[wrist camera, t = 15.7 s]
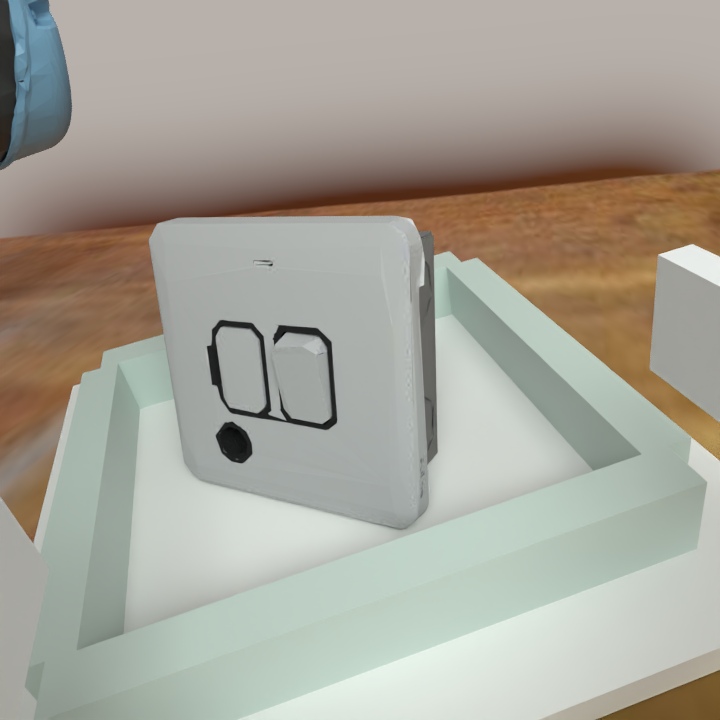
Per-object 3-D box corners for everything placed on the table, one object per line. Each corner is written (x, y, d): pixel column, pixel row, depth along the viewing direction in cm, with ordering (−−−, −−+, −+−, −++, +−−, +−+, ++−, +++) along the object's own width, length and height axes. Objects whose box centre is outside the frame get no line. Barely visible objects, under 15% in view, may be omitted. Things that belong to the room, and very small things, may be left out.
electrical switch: (186, 483, 23) (103, 241, 19) (265, 408, 27) (212, 194, 23) (421, 544, 19) (383, 247, 14) (475, 445, 23) (457, 188, 18)
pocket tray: (81, 401, 31) (50, 343, 29) (486, 281, 34) (480, 220, 32) (-46, 976, 13) (-151, 917, 11) (861, 613, 16) (899, 515, 14)
